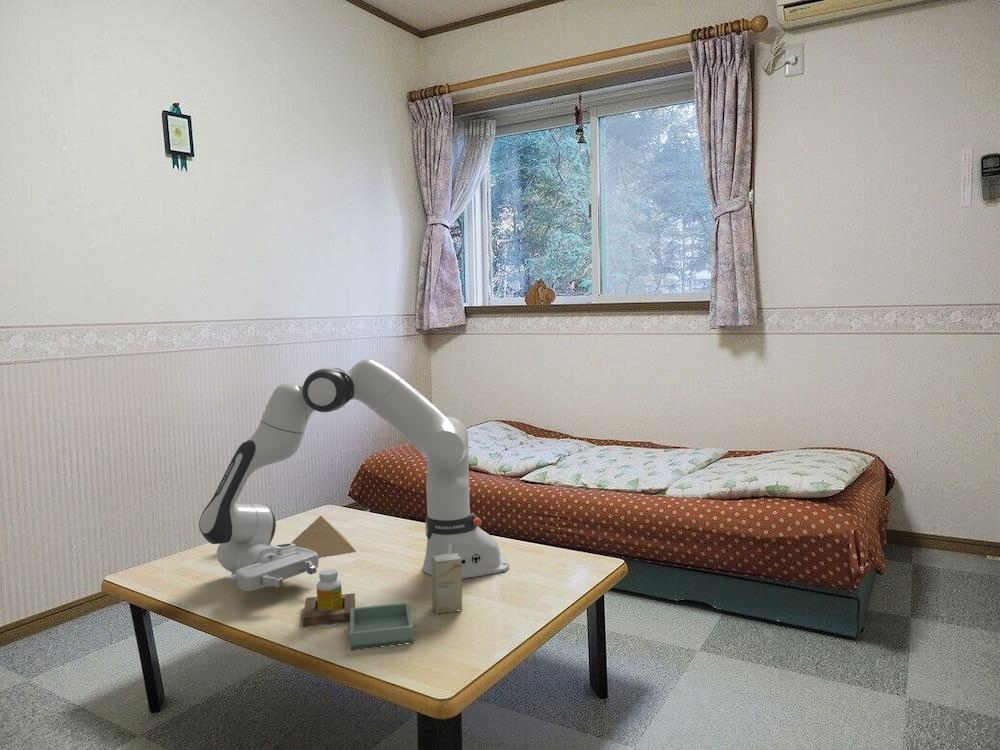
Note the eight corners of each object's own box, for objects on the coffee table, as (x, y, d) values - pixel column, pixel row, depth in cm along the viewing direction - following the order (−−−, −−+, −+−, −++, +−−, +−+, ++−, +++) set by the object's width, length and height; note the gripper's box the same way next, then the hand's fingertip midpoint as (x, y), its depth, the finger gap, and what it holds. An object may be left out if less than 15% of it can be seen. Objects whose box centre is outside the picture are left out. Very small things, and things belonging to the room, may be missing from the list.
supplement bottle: (336, 619, 159) (334, 576, 158) (313, 617, 160) (311, 575, 160) (346, 609, 165) (344, 568, 164) (324, 608, 166) (322, 566, 165)
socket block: (355, 601, 169) (354, 593, 169) (355, 621, 158) (354, 612, 158) (306, 606, 167) (306, 597, 167) (303, 626, 156) (302, 617, 156)
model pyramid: (285, 546, 212) (284, 512, 211) (344, 537, 219) (343, 504, 218) (295, 563, 197) (293, 527, 196) (358, 553, 204) (356, 518, 203)
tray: (409, 617, 159) (408, 602, 159) (414, 643, 147) (413, 626, 147) (351, 623, 157) (350, 608, 157) (350, 650, 145) (350, 633, 144)
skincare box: (435, 614, 161) (434, 561, 160) (431, 607, 165) (430, 555, 164) (463, 611, 162) (461, 558, 161) (458, 603, 167) (457, 552, 166)
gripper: (223, 564, 170) (257, 576, 161) (297, 541, 185) (331, 551, 177) (225, 590, 170) (259, 604, 161) (298, 565, 186) (332, 576, 177)
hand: (297, 576), depth 169 cm, fingers open, 8 cm apart
